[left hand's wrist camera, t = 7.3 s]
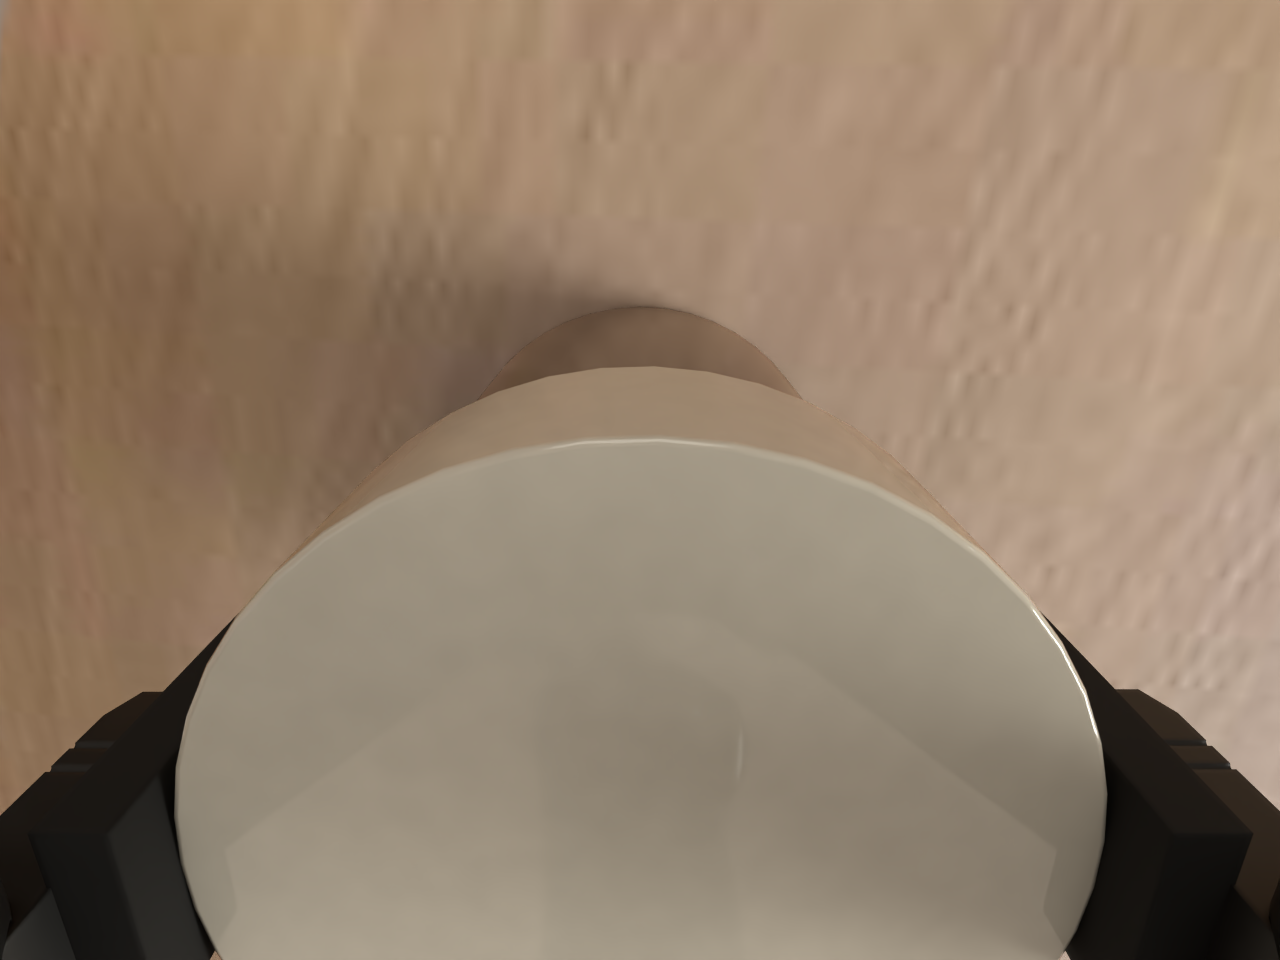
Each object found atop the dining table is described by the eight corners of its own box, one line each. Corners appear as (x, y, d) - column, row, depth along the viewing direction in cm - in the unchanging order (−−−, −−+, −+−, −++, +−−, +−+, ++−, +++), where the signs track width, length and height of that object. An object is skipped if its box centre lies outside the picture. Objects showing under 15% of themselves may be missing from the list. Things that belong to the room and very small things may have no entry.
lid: (500, 201, 9) (435, 203, 6) (1140, 609, 11) (1320, 758, 8) (188, 793, 12) (45, 982, 9) (730, 1033, 14) (754, 1252, 11)
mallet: (447, 306, 18) (279, 404, 10) (832, 306, 18) (1000, 403, 10) (509, 1019, 26) (447, 1406, 18) (772, 1019, 26) (833, 1407, 18)
